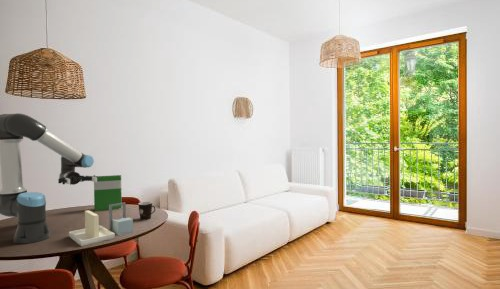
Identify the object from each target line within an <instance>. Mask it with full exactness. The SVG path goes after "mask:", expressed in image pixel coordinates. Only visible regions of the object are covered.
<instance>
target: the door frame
mask: <svg viewBox="0 0 500 289" xmlns="http://www.w3.org/2000/svg"><path fill="white" fill-rule="evenodd" d="M119 205H122V217H120V218H119V219H116V218H115V219H113V209H112V207H113V206H119ZM126 211H127V206H126V202H122V203H118V204H112V205H109V210H108V221H109V223H108V227H109V228H108V230H109V231H111V232H113V233H115V235H118V236H121V235H125V234H126V235H127V234H130V233H133V232H134V219H133V218H131V217H127V212H126Z"/></svg>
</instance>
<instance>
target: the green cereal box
mask: <svg viewBox="0 0 500 289" xmlns="http://www.w3.org/2000/svg"><path fill="white" fill-rule="evenodd" d="M97 176H98V181H97V182H93V201H94V202H93V203H94V204H93V208H94V211H95V212H98V211H99V212H100V211H109V205H112V204H118V203H123V202H122V201H123V200H122V197H123V196H122V194H123V193H122V174H120V175H119V174H118V175H117V174H115V175H97ZM121 207H122V208H123V205H119V206H113V207H112V210H120V209H119V208H121ZM122 208H121V209H122Z"/></svg>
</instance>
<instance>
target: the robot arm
mask: <svg viewBox="0 0 500 289" xmlns="http://www.w3.org/2000/svg"><path fill="white" fill-rule="evenodd" d="M24 138H27V139H29V140H31V141H33V142H38V143H39V144H41V145H43V146H44V147H46V148H47V149H49V150H51V151H53V152H55V153H56V154H58V155H60V173H59V175H58V176H59V177H58V180H57V181H58V182H57V183H58V184H62V185H66V184H67V185H70V186H71V185H73V186H74V185H77V184H79V183H80V182H81V183H82V182H88V181H89V182H93V183H94V182H97V181H98V176H99V175H97V176H96V175H95V174H94V175H81V174H80V173H79V172H77V171H76V168H91V167H92V166H93V164H94V163H95V159H94V157H93V156H92V155H89V154H84V153H82V152H81V151H79V150H78V149H76V148H75V147H74V146H72V145H71V144H69V143H68V142H66V141H65V140H64V139H62V138H60V137H59V136H57V135H56V134H54V133H52V132H51V131H50V130H48V129H47V126H46V125H45V124H43V123H41V121H38V120H37V119H36V118H33V117H31V116H30V115H27V114H24V113H17V112H16V113H2V114H0V175H1V187H2V188H1V190H0V215H1V216H4V217H13V218H17V227H16V231H15V232H14V236H13V243H15V244H18V245H19V244H21V245H22V244H30V243H31V244H32V243H37V242H40V241H44V240H46V239H48V238H51V230H50V229H49V226H48V224H47V219H46V218H47V215H46V210H47V209H46V207H47V206H46V205H47V200H46V195H45V194H44V193H42V192H38V191H29V192H28V189H27V188H26V187H24V182H23V169H22V168H23V167H22V154H21V153H22V152H21V142H22V141H23V140H24Z"/></svg>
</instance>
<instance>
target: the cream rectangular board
mask: <svg viewBox="0 0 500 289" xmlns="http://www.w3.org/2000/svg"><path fill="white" fill-rule="evenodd" d="M99 218H100V217H99V214H97V213H96V212H93V211H91V210H84V229H85V233H86V234H87V235H88V236H90V237H91V238H96V237H99V226H100V221H99V220H100V219H99Z"/></svg>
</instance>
